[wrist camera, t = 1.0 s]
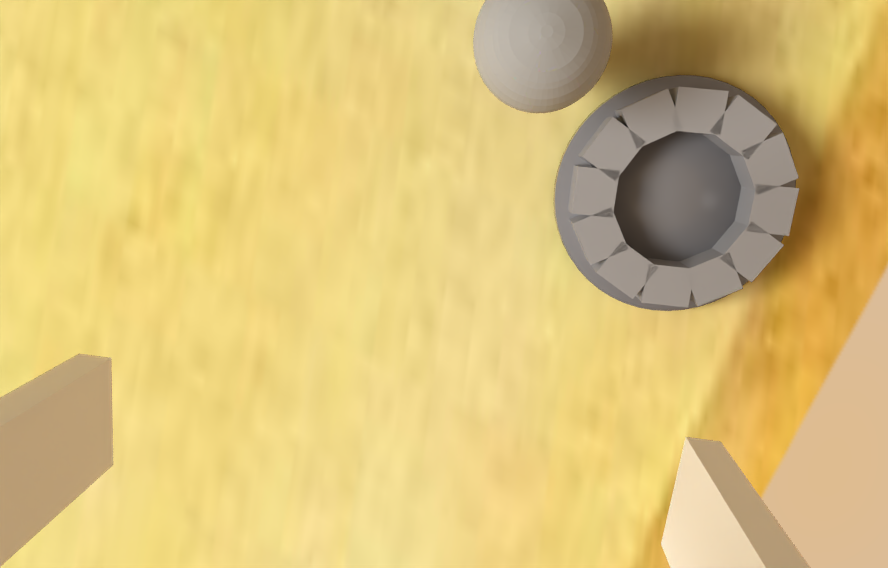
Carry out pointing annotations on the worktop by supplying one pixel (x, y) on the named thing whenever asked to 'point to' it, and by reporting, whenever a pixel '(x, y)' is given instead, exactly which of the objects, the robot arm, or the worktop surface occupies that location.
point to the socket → (675, 193)
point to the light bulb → (542, 50)
